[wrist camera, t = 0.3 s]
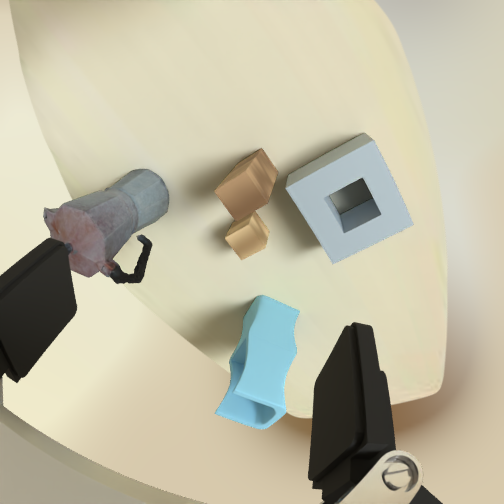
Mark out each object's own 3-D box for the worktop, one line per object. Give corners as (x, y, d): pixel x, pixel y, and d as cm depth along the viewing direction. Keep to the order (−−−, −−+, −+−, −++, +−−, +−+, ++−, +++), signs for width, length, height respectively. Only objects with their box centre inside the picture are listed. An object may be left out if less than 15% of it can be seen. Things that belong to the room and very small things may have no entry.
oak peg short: (232, 222, 47) (224, 238, 43) (254, 210, 45) (248, 224, 41) (247, 243, 48) (241, 260, 44) (269, 231, 47) (265, 247, 42)
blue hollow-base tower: (258, 292, 52) (234, 389, 35) (300, 311, 53) (290, 410, 36) (240, 321, 57) (213, 413, 39) (279, 338, 57) (264, 431, 40)
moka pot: (119, 146, 43) (27, 192, 26) (201, 195, 45) (138, 269, 28) (102, 195, 48) (22, 254, 31) (176, 242, 50) (116, 324, 33)
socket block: (288, 174, 42) (285, 188, 37) (364, 132, 37) (373, 140, 32) (330, 242, 46) (332, 264, 41) (401, 206, 41) (413, 224, 36)
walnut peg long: (238, 163, 42) (213, 191, 32) (262, 148, 40) (245, 171, 30) (254, 186, 43) (236, 221, 33) (278, 172, 42) (267, 203, 32)
